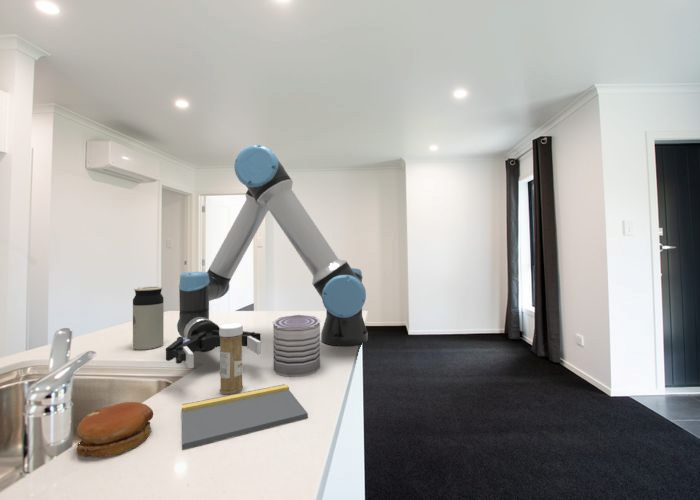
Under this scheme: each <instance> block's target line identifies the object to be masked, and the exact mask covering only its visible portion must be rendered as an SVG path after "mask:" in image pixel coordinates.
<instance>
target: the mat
mask: <svg viewBox="0 0 700 500" xmlns="http://www.w3.org/2000/svg"><path fill="white" fill-rule="evenodd" d="M308 415H309V412H308V411H306V410H305V408H304V407H303V405H302V404H301V403H300V402H299V400H298V399H297V398H296V397H295V396H294V394H293V393H292V392H291V391H290V386H289V385H288V384H287V383H286V384H285V383H283V384H279V385H273V386H268V387H262V388H258V389H253V390H247V391H244V392H238V393H235V394H229V395H223V396H218V397H213V398H208V399H203V400H197V401H192V402H187V403H182V404H181V428H182V429H181V431H182V432H181V433H182V434H181V436H182V438H181V439H182V441H181V443H182V444H181V445H182V450H186V449H187V450H188V449H191V448H193V447H194V448H195V447H199V446H202V445H206V444H207V445H208V444H211V443H215V442H218V441H223V440H226V439H230V438H233V437H239V436H241V435H246V434H250V433H253V432H258V431H261V430H267V429H270V428H272V427H276V426H282V425H284V424H285V425H286V424H289V423H294V422H297V421H301V420H305V419H309V418H308V417H309V416H308Z"/></svg>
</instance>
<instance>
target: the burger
mask: <svg viewBox="0 0 700 500" xmlns="http://www.w3.org/2000/svg"><path fill="white" fill-rule="evenodd" d="M153 418H154V411H153V409H152V408H151V407H150V406H149V405H147V404H145V403H142V402H137V401H126V402H125V401H124V402H120V403H117V404H114V405H109V406H107V407H102V408H98V409H95V410H93V411H92V412H90V413H88V414H86V415H85V416H84V417H83V418H82V420H81V421H80V422H79V423H78V425H77V427H76V434H77V438H78V439H80V441H79V442H78V443H77V445H76V454H77V455H78V456H80V457H89V456H91V457H94V458H100V457H101V458H103V457H107V456H108V457H113V456H116V455H119V454H122V453H125V452H127V451H130V450H132V449H134V448H136V447H138V446H140V445H141V444H142V443H144V442H145V441H146V440H147V439H148V437H149V436H150V435H151V431H152V429H151V420H152V419H153ZM79 443H80V444H79Z"/></svg>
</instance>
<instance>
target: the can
mask: <svg viewBox="0 0 700 500" xmlns="http://www.w3.org/2000/svg"><path fill="white" fill-rule="evenodd" d="M321 322H322V320H321V319H319V318H317V317H316V316H314V315H304V314H303V315H302V314H296V315H295V314H294V315H287V316H280V317H279V318H277V319H275V320H274V321H272V322H271V323H272V325H273V327H272V328H273V329H272V330H273V371H274V372H275V374H276V375H278V376H282V377H285V378H296V377H297V378H299V377H307V376H309V375H313V374H316V373H317V372H318V371H319V369H320V368H321V332H320V331H321Z"/></svg>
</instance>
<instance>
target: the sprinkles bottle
mask: <svg viewBox="0 0 700 500" xmlns="http://www.w3.org/2000/svg"><path fill="white" fill-rule="evenodd" d="M243 331H244V328H243V324H241V323H225V324H221V325H220V326H219V336H220V347H219V349H220V350H219V376H220V377H219V378H220V387H219V392H220V394H223V395H225V396H227V395H232V394H237V393H241V391H242V390H243V389H244V386H243V346H242V334H243Z"/></svg>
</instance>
